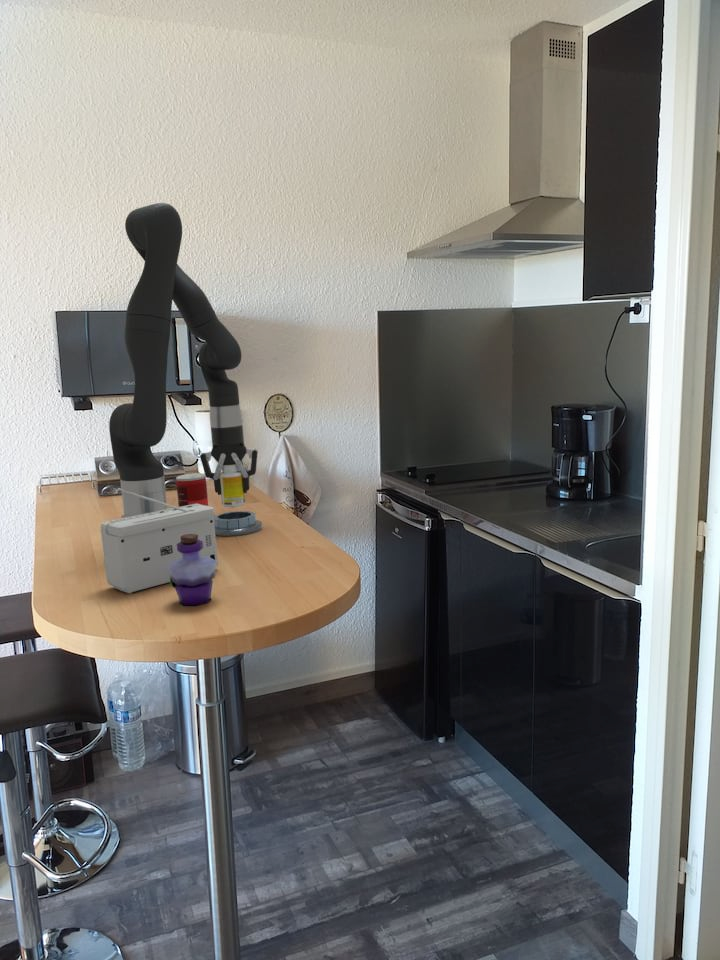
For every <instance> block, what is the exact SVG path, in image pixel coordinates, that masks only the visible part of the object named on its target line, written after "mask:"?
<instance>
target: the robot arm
mask: <svg viewBox="0 0 720 960" xmlns="http://www.w3.org/2000/svg"><path fill="white" fill-rule="evenodd" d="M124 226H125V228H124V229H125V233H126V236H127V238H128V240H129V241H130V243H131V245H132V246H133V248H134V249H135V250H136V252H137V253H138V254H139V255H140V257H141V258H142V259H143V261H144V264H143V268H142V272H141V275H140V277H139V280H138V282H137V284H136V286H135V288H134V290H133V292H132V294H131V296H130V299H129V301H128V305H127V307H126V314H125V325H124V343H125V348H126V351H127V354H128V357H129V361H130V363H131V364H130V365H131V367H132V369H133V370H132V371H133V375H134V390H133V392H134V393H133V400H132V402H128V403H122V404H120V405H118V406H116V407H115V408H114V409H113V411H112V413H111V415H110V418H109V424H108V427H109V429H108V430H109V431H108V432H109V438H110V444H111V450H112V457H113V461H114V465H115V467H116V469H117V471H118V473H119V480H120V488H121V490H124V491H128V492H131V493H135V494H138V495H141V496H144V497H147V498H151V499H154V500H157V501H160V502H163V503H166V504H168V500H167V491H166V482H165V481H166V479H165V470H164V465H163V463H162V462H161V461H160V460H159V459H158V458H156V456H155V455H154V454H153V451H152V449H151V447H154V446H156V445H158V444H159V443H160V442H161V441H162V439H163V438H164V437H165V433H166V429H167V422H168V421H167V420H168V419H167V412H168V411H167V370H168V355H169V345H170V336H171V326H172V325H171V324H172V323H171V322H172V308H173V306H172V305H173V304H174V305H175V306H176V308H177V309H178V312H179V314H180V316H181V317H182V320H183V321H184V323H185V324H186V326H187V329H188V330H189V332H190V333H191V335H192V336H193V337H195V338H197V339H198V338H199V339H201V340H203V341H204V342H203V343H202V345H201V346H200V349H199V352H198V363H199V366H200V367H199V368H200V369H201V373H202V376H203V378H204V382H205V384H206V386H207V389H208V401H209V422H210V434H211V442H212V443H211V444H212V446H211V447H212V448H211V451H208V452H202V453H201V454H200V455H199V457H200V462H201V465H202V469H203V471H204V474H205V476H206V479H211V480H213V486H214V492H215V493H216V494H217V495H218V496H221V487H220V476H219V475H220V473H222V466H223V465H237V467H238V468H239V470H238V471H241V473H242V475H243V490H244V494H247V493H248V491H249V490H250V478H249V477H251V476H254V475H255V474H256V473H257V464H258V454H259V453H258V449H256V448H254V449H247V447H246V446H245V438H244V428H243V427H244V426H243V417H242V416H243V415H242V410H241V406H240V394H239V385H238V383H237V382H236V381H235V380H232V379H230V378H228V375H227V373H226V371H229V370H233V369H236V368H237V367H238V366H239V365H240V363H241V361H242V350H241V347H240V345H239V343H238V341H237V339H236V338H235V337H234V336H233V334H232V333H231V331H229V329H228V328H227V327H226V326H225V325H224V324H223V322H221V321H220V319H219V318H218V315H217V314H216V311H215V310H214V308H213V305H212V304H211V302H210V300H209V298H208V297H207V295H206V294H205V292H204V291H203V289H202V288H201V287H200V286H199V285H198V284H197V283H196V282H195V281H194V280H193V279H192V278H191V277H190V276H189V275H188V274H187V273H186V272H185V271H184V270H183V268H181V267H180V266H179V264H178V259H179V254H180V249H181V245H182V244H181V243H182V239H183V224H182V218H181V216H180V214H179V212H178V211H177V209H176V208H175V207H174V206H172V204H170V203H167V202H156V203H154V204H149V205H145V206H141V207H139V208H136V209H133V210H132V211H130V212H129V213H128V214H127V217H126V218H125V223H124ZM173 302H174V303H173ZM246 454H247V456H248V458H249V459H251V460H250V461H251V462H250V469H247V467H246V465H245V463H244V462H243V460H244V458H245V456H246ZM211 457H212V458H213V459H214V460H215V461H216V463H217V464H216V467H215V468H216V469H215V472H212V471H211V466H210V463H209V462H210V461H211ZM121 490H120V491H121ZM124 491H121V498H122V499H121V500H122V508H123V515H121V517H120V519H121V518H126V517H131V516H136V515H141V514H147V513H152V512H157V511H162V510H167V509H168V506H165V505H161V504H158V503H155V502H152V501H150V500H147V499H144V498H140V497H138V496H135V495H132V494H130V493H127V492H124Z"/></svg>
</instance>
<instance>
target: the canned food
mask: <svg viewBox="0 0 720 960" xmlns="http://www.w3.org/2000/svg"><path fill="white" fill-rule="evenodd" d="M175 482H176V493H177V504H178V507H182V506H187V505H192V504H200V505H204V506H205V505H206V506H209V499H208V488H207V477H206V476H205V473H187V474H182V475H177V476H176V477H175Z"/></svg>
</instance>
